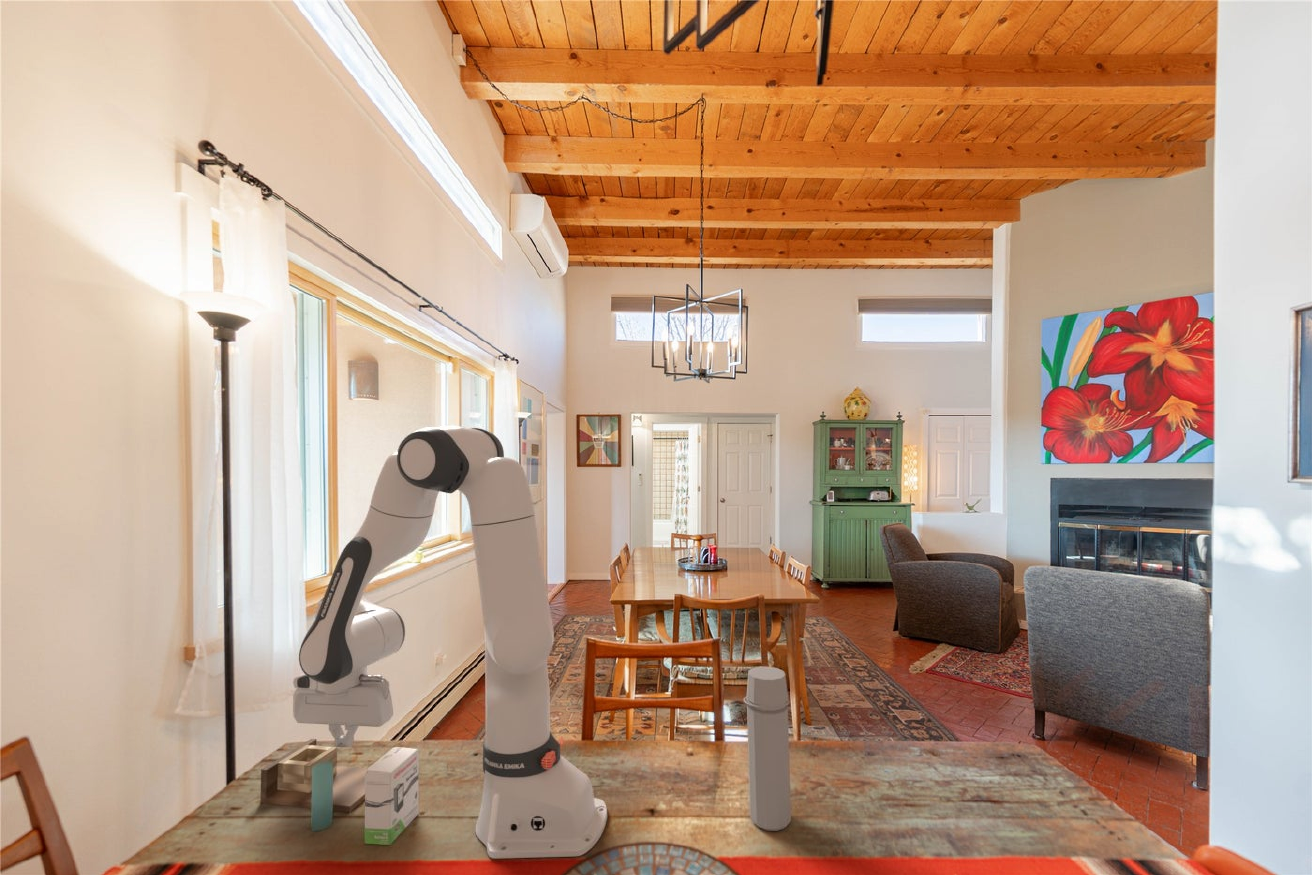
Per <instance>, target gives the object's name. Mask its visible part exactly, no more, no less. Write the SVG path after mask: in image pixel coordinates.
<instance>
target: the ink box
mask: <svg viewBox="0 0 1312 875" xmlns="http://www.w3.org/2000/svg"><path fill="white" fill-rule="evenodd" d="M419 760H420V759H419V748H411V747H401V746H395V747H392V748H391V749H389V750H388V751H387V752H386V753H385V754H384V755H382V756H381V757H380V758H379V759H378V760H376V761H375V762H374V763H373V764H371V765H370V766H369V767H367V768H368V769H367V771H366V772H365V800H364V844H366V845H367V844H368V845H382V846H383V845H384V846H391V845H392V844H393V842H394V841H395V840H396V839H397V838H398V837H399V836H400V835H401V833H403V832H404V831H405V829H407V827H408V826H409V825H410V824H411V823H412V822H413V820H414V819H415V818H417V817H418V815H419Z"/></svg>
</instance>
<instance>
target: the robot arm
mask: <svg viewBox="0 0 1312 875" xmlns="http://www.w3.org/2000/svg"><path fill="white" fill-rule="evenodd" d="M504 453H505V451H504V446H503V445H502V442H501V441H500V440H499V438H498V437H497V436H496V435H495V434H493V433H492V432H490V431H488V430H486V429H483V428H479V427H471V428H470V427H464V426H458V425H447V426H438V427H432V426H429V427H428V426H427V427H424V428H420V429H418V430H417V429H416V430H415V431H413V432H411V433H410V434H408V435H406V436H405V438H404V439H403V440H402V441H401V442H400V445H399V446H398V449H397V451H395V452H394V453H392V454H390V455H389V456H388V457H387V458H386V460H385V462H384V464H383V466H382V468H381V470H380V472H379V474H378V478H377V480H376V483H375V486H374V490H373V492H372V496H371V500H370V504H369V508H368V511H367V513H366V517H365V519H364V520H363V522H362V525H361V526H360V528H359V529H358V531H357V533H356V534H355V535H354V536H353V538H352V539H351V540H350V541H349V542H348V543H347V544H346V545H345V547H344V548H343V550H342V552H341V554H340V556H339V558H338V559H337V563H336V565H335V567H334V569H333V573H332V575H331V577H330V580H329V583H328V585H327V588H326V590H325V592H324V595H323V597H322V599H320V600H319V601H318V603H317V606H316V610H315V617H314V621H313V622H312V624H311V626H310V628H309V629H308V630H307V633H306V634H305V636H304V637H303V640H302V642H301V645H300V649H299V653H298V662H299V666H300V668H301V669H300V670H301V671H302V672H303V673H301V674H299V675H297V676H296V677H294V678H293V682H292V683H293V687H294V688H295V690H294V691H293V695H292V714H293V718H294V720H295V721H296V723H297V724H307V725H308V724H310V725H311V724H312V725H328V731H329V732H330V734H331V735H332V738H333V739H334V747H337V748H339V747H340V748H350V747H351V746H353V745H354V743H355V734H356V732H357V730H358V729H359V727H373V728H374V727H375V728H380V727H382V726H384V725H385V724H387V723H388V722H389V721H390V720H391V719H392V717H393V715H394V706H393V700H392V694H391V689H390V681H388V680H387V679H386V678H385V677H383V675H381V674H377V675H374V674H373V675H371V674H368V667H369V666H370V665H373V664H376V663H377V662H380V661H381V660H385V659H387V658H388V657H390V656H392V655H394V654H396V653H397V652H398V651H400V649H402V646H403V644H404V641H405V637H406V630H405V629H406V627H405V622H404V620H403V618H402V616H401V614H399V613H398V612H397V611H396V610H395V609H393V608H390V607H383V606H380V605H378V604H375V603H373V602H371V601H370V600H368V599H367V598H366V597H365V596H364V593H365V592H366V591H365V590H366V588H367V587H368V585H369V584H370V582H371V581H372V580H373V579H374V578H375V577H377V575H378V574H379V573H381V572H382V571H384V570H385V569H386V568H388V567H389V566H391V565H392V564H394V563H395V562H397V561H399V560H401V559H403V558H404V557H407V556H408V555H410V554H412V553H413V552H414V551H416V549H418V548H419V547H421V545H422V544H423V542H424V541H425V539H426V537H427V536H428V533H429V531H430V528H431V524H432V521H433V515H434V511H435V506H436V502H437V498H438V495H439V493H440V492H441V493H446V494H453V493H455V492H456V491H459V492H461V493H462V494H463V495H464V497H465V499H466V500H467V503H468V506H469V507H468V508H469V516H470V517H469V518H470V524H471V534H472V540H473V549H474V554H475V563H476V571H477V578H478V587H479V593H480V601H481V610H482V618H483V619H482V620H483V627H484V674H485V675H484V676H485V677H484V679H485V680H484V681H485V682H484V683H485V686H484V688H485V690H484V691H485V692H484V693H485V739H484V741H483V745H482V747H483V748H482V770H483V774H484V778H483V779H484V780H483V790H482V798H481V804H480V809H479V814H478V817H477V820H476V824H475V834H476V836H477V838H478V839H479V841H480V842H481V843H483V844H484V845H485V847H486V851H487V855H488V857H489V858H491V859H494V860H495V859H497V860H498V859H525V858H527V859H528V858H530V859H531V858H562V857H563V858H564V857H565V858H567V857H581V856H582V855H584V854H586V853H587V852H588V851H590V850H591V849H592V848H594V846H595V845H596V844H597V842H598V841H599V839H600V838H601V836H602V835H603V832H604V830H605V827H606V825H607V821H608V809H607V805H606V802H605V801H604V800H602V799H599V798H596V797H595V795H594V789H593V785H592V782H591V779H590V778H589V776H588V775H587V774H586V773H584V772H583V771H581V770H580V769H579V768H577V767H576V766H575V765H574V764H572V763H571V762H570V761H569V760H567V759H566V758H565V757H563V755H561V748H562V747H563V743H564V740H563V739H564V736H560V738H559V740H558V741H557V739H556V738H555V737H554V735H553V733H552V732H551V713H550V712H551V704H550V702H551V697H550V696H551V695H550V694H551V692H550V682H549V681H550V680H549V671H548V670H549V669H548V658H549V656H550V654H551V652H552V649H553V644H554V634H555V633H554V625H553V620H552V619H553V617H552V613H551V608H550V601H549V595H548V590H547V583H546V579H545V574H544V569H543V564H542V558H541V553H540V552H541V551H540V543H539V536H538V535H539V534H538V528H537V522H536V514H535V513H536V512H535V506H534V502H533V497H532V492H531V489H530V484H529V482H528V479H527V476H526V473H525V469H524V468H523V466H522V465H521V463H520V462H518V461H517V460H515V459H512V458H510V457H505V454H504ZM342 726H344V730H343V728H342ZM344 731H346V733H344Z"/></svg>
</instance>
